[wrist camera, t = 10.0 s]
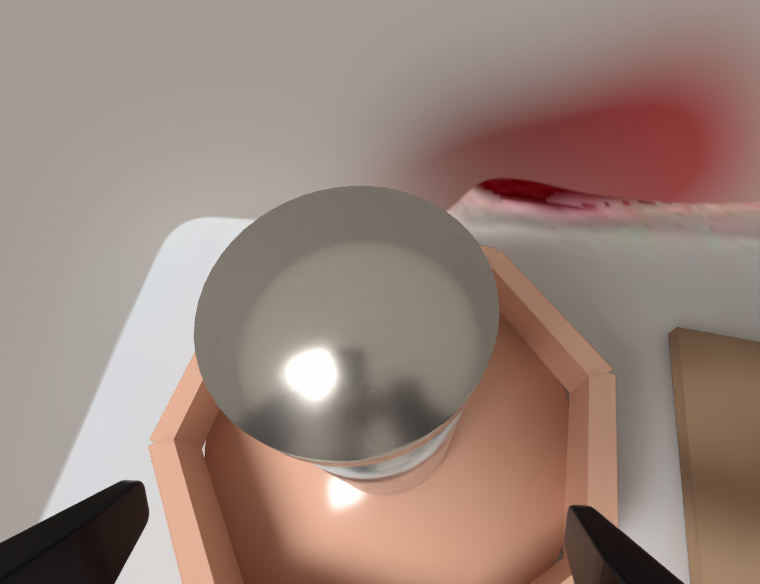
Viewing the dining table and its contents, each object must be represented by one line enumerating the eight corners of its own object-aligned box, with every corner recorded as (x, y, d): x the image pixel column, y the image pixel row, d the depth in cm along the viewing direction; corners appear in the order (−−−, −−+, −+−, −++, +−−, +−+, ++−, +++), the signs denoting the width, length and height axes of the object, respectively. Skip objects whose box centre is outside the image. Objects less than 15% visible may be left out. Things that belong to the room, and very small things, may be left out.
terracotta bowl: (577, 759, 13) (623, 827, 10) (129, 584, 17) (67, 597, 14) (586, 302, 22) (613, 267, 19) (285, 248, 25) (267, 211, 22)
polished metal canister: (477, 462, 17) (566, 373, 7) (344, 523, 17) (224, 524, 6) (418, 341, 20) (418, 154, 10) (303, 388, 20) (176, 239, 9)
